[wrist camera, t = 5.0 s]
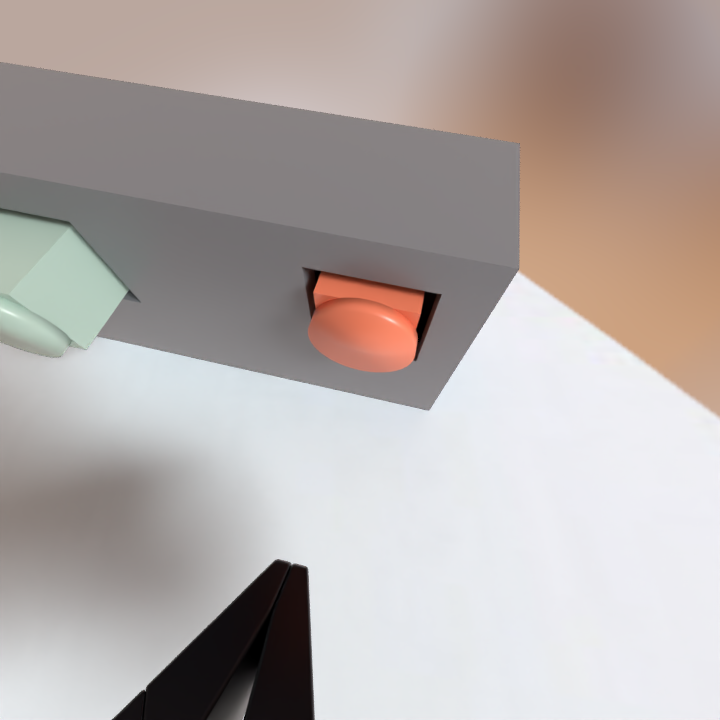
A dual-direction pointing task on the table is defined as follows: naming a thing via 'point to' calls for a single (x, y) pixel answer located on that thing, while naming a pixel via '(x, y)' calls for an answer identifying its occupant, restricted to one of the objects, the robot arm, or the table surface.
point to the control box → (264, 219)
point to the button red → (365, 322)
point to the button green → (52, 285)
